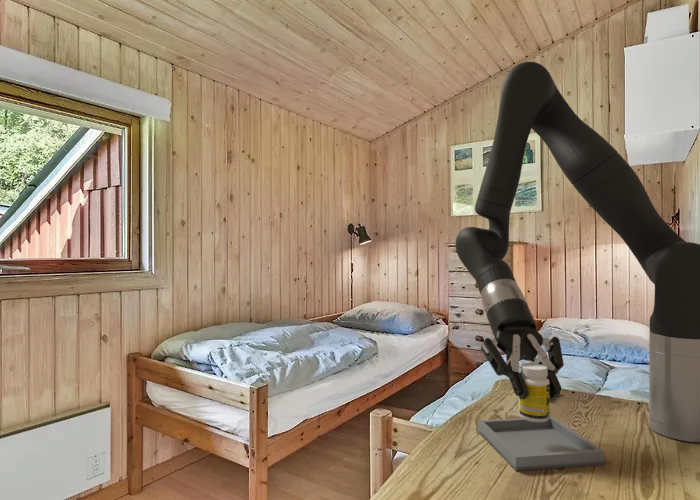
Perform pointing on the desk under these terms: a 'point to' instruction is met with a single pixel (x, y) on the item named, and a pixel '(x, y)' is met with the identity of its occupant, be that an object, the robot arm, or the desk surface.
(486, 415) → the desk surface
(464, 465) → the desk surface
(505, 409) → the desk surface
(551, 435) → the tray
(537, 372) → the supplement bottle
